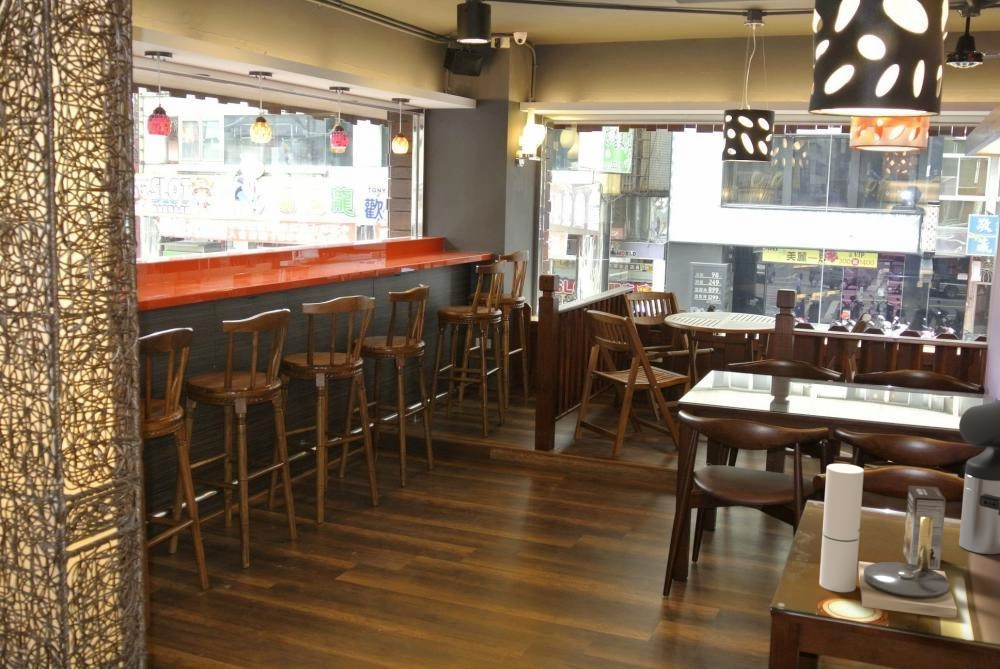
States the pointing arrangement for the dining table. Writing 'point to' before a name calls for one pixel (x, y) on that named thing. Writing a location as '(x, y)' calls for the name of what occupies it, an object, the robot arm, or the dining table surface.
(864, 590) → the stand
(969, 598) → the dining table surface
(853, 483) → the cylindrical container
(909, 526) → the coffee box
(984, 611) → the dining table surface
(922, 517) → the crank wheel
